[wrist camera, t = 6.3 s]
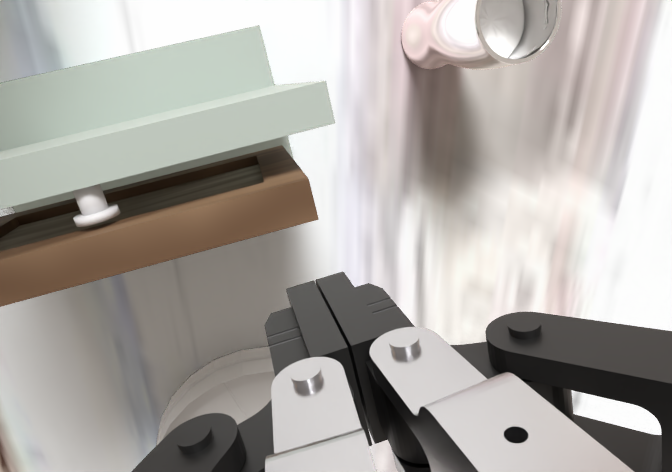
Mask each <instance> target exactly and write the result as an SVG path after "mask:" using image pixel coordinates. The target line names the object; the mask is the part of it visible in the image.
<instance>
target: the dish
mask: <svg viewBox="0 0 672 472" xmlns="http://www.w3.org/2000/svg"><path fill="white" fill-rule="evenodd" d="M274 379H275V374H274V369H273V364H272V359H271V354H270V349H269V346H267V347H260V348H252V349H244V350H239V351H236V352H234V353H231V354H228V355H226V356H223V357H220V358H218V359H215V360H213V361H212V362H210V363H209V364H207V365H206V366H204V367H203V368H201V369H200V370H198V371H197V372H195V373H194V374H192V375H191V376H190V377H189V378H188V379H187V380H186V381H185V382H184V383H183V385H182V386H181V387H180V388H179V389H178V390H177V391H176V392H175V393H174V394H173V396H172V398H171V400H170V402H169V403H168V405H167V407H166V409H165V411H164V413H163V415H162V417H161V421H160V427H159V431H158V437H157V443H156V446H157V445H158V444H159V443H160V442H161V441H162V440H163V439H164V438H165V437H166V436H167V435H168V434H169V433H170V432H171V431H172V430H173V429H175V428H176V427H177V426H179V425H181V424H182V423H184V422H186V421H188V420H190V419H192V418H194V417H197V416H200V415H204V414H209V413H223V414H227V415H229V416H231V417H232V418H233V419H234V420H235V421H236V423H237V425H238V424H240V423H241V422H243V421H245V420H246V419H248V418H250V417H252V416H253V415H255V414H256V413H258V412H259V411H260V410H261V409H263V408H264V407H265V406H266V405H267V404H268V402H269V401H270V400H271V399H272V398H271V385H272V382H273V380H274Z"/></svg>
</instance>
